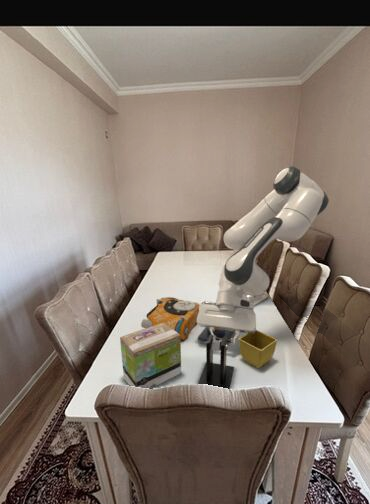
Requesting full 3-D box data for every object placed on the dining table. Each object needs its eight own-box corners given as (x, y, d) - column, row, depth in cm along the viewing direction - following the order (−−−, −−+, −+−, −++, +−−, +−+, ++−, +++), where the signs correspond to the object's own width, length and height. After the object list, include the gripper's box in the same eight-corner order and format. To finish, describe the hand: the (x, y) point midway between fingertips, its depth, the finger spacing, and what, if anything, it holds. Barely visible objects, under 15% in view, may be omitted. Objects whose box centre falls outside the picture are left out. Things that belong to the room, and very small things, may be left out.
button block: (209, 327, 104) (209, 318, 103) (232, 332, 100) (233, 323, 99) (197, 342, 94) (197, 332, 93) (223, 348, 90) (223, 339, 88)
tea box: (137, 399, 68) (133, 352, 64) (123, 378, 76) (118, 336, 72) (182, 375, 77) (181, 333, 72) (165, 359, 85) (163, 320, 80)
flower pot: (259, 376, 76) (261, 350, 73) (236, 362, 82) (237, 338, 80) (275, 363, 81) (277, 339, 78) (253, 351, 88) (254, 328, 85)
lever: (216, 342, 85) (216, 335, 85) (230, 344, 83) (231, 337, 83) (206, 348, 70) (207, 340, 71) (224, 351, 69) (225, 343, 69)
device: (129, 317, 97) (163, 290, 124) (131, 335, 100) (164, 305, 126) (183, 326, 89) (207, 295, 116) (184, 346, 92) (207, 311, 118)
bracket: (206, 364, 82) (206, 327, 77) (234, 369, 79) (235, 331, 75) (196, 391, 71) (195, 349, 67) (228, 398, 68) (229, 355, 64)
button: (213, 325, 98) (213, 321, 98) (221, 327, 97) (221, 323, 96) (209, 330, 95) (209, 326, 95) (218, 332, 94) (218, 328, 93)
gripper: (198, 297, 89) (191, 335, 83) (257, 303, 83) (254, 345, 77) (201, 303, 95) (195, 340, 89) (257, 310, 89) (254, 349, 83)
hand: (223, 342), depth 83 cm, fingers closed on lever, 5 cm apart
